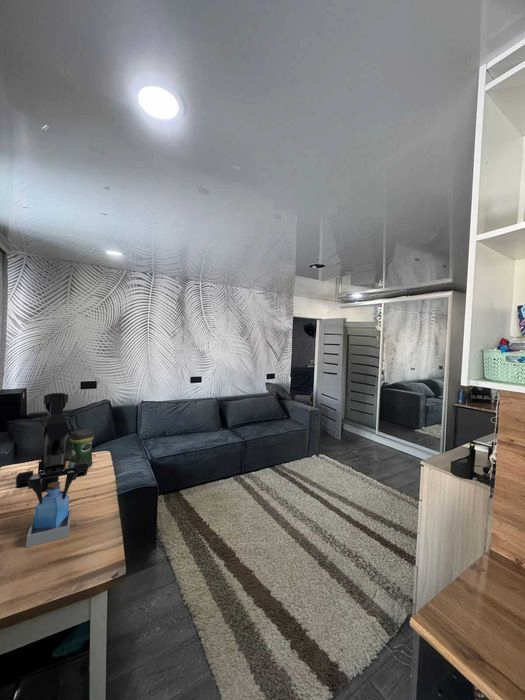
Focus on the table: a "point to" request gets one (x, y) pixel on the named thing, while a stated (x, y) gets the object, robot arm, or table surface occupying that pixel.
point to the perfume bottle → (51, 508)
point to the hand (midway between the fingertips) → (52, 501)
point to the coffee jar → (81, 447)
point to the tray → (48, 532)
